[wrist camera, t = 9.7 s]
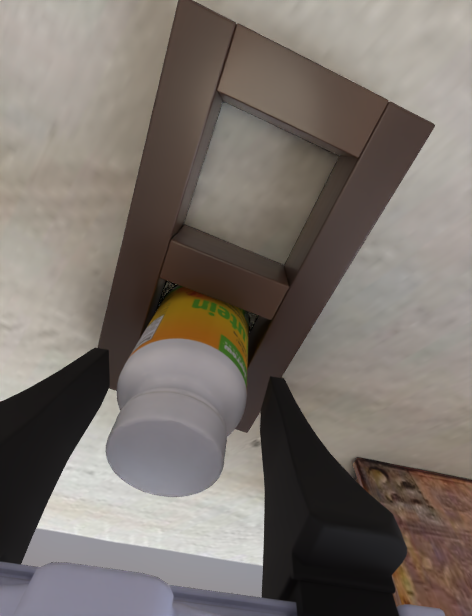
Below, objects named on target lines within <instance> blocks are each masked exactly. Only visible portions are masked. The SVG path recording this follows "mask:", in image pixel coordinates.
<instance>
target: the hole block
mask: <svg viewBox="0 0 472 616" xmlns="http://www.w3.org/2000/svg"><path fill="white" fill-rule="evenodd" d="M223 101H224V102H226V103H228V104H231V105H233V106H235V107H237V108H239V109H241V110H243V111H245V112H248V113H250V114H252V115H254V116H256V117H258V118H260V119H262V120H264V121H267V122H269V123H271V124H273V125H275V126H277V127H279V128H281V129H284V130H286V131H288V132H290V133H292V134H294V135H296V136H298V137H301V138H303V139H305V140H307V141H309V142H311V143H313V144H315V145H317V146H320V147H322V148H324V149H326V150H328V151H330V152H332V153H334V154H337V155H339V158H338V160H337V162H336V164H335V166H334V168H333V170H332V172H331V174H330V176H329V178H328V180H327V182H326V184H325V186H324V188H323V190H322V192H321V194H320V196H319V198H318V200H317V202H316V204H315V206H314V208H313V210H312V212H311V214H310V216H309V218H308V220H307V222H306V224H305V226H304V228H303V230H302V232H301V234H300V236H299V238H298V240H297V242H296V243H295V245H294V247H293V249H292V251H291V253H290V255H289V257H288V259H287V261H286V263H285V265H282V264H280V263H277V262H275V261H272V260H270V259H268V258H265V257H263V256H260V255H258V254H255V253H253V252H250V251H248V250H245V249H243V248H241V247H238V246H236V245H233V244H231V243H228V242H226V241H223V240H221V239H219V238H216V237H214V236H211V235H209V234H206V233H204V232H201V231H199V230H196V229H194V228H192V227H189V226H187V225H184V221H185V218H186V215H187V212H188V209H189V206H190V203H191V200H192V196H193V193H194V190H195V187H196V184H197V181H198V178H199V174H200V171H201V168H202V165H203V162H204V159H205V156H206V153H207V149H208V146H209V143H210V140H211V137H212V134H213V131H214V128H215V124H216V121H217V118H218V115H219V112H220V109H221V106H222V103H223ZM434 127H435V125H434V124H433V123H431V122H429V121H428V120H426V119H424V118H422V117H420V116H418V115H416V114H414V113H412V112H410V111H408V110H406V109H404V108H402V107H400V106H398V105H396V104H394V103H392V102H388V100H387V99H385V98H383V97H381V96H379V95H377V94H376V93H374V92H372V91H370V90H368V89H366V88H364V87H362V86H360V85H358V84H356V83H354V82H352V81H350V80H348V79H346V78H344V77H342V76H340V75H338V74H336V73H334V72H332V71H331V70H329V69H327V68H325V67H323V66H321V65H319V64H317V63H315V62H313V61H311V60H309V59H307V58H305V57H303V56H301V55H299V54H297V53H295V52H293V51H291V50H289V49H287V48H286V47H284V46H282V45H280V44H278V43H276V42H274V41H272V40H270V39H268V38H266V37H264V36H262V35H260V34H258V33H256V32H254V31H252V30H250V29H248V28H246V27H244V26H243V25H241V24H237V25H236V23H235V22H234V21H232V20H230V19H228V18H226V17H224V16H222V15H220V14H218V13H216V12H214V11H212V10H210V9H208V8H206V7H205V6H203V5H201V4H199V3H197V2H195V1H193V0H178V4H177V8H176V12H175V17H174V21H173V25H172V30H171V34H170V38H169V42H168V47H167V51H166V55H165V60H164V64H163V68H162V73H161V77H160V81H159V86H158V90H157V94H156V98H155V103H154V107H153V111H152V116H151V120H150V124H149V129H148V133H147V137H146V142H145V146H144V150H143V154H142V159H141V163H140V167H139V172H138V176H137V180H136V185H135V189H134V193H133V198H132V202H131V206H130V210H129V215H128V219H127V223H126V228H125V232H124V236H123V241H122V245H121V249H120V254H119V258H118V262H117V266H116V271H115V275H114V279H113V284H112V288H111V292H110V297H109V301H108V305H107V310H106V314H105V318H104V322H103V327H102V331H101V335H100V340H99V344H98V348H100V349H106V350H109V372H110V386H109V388H110V389H113V390H116V391H117V383H118V379H119V376H120V374H121V371H122V369H123V368H124V365H125V363H126V362H127V360H128V358H129V356H130V355H131V353H132V352H133V350H134V348H135V347H136V345H137V343H138V341H139V340H140V338H141V336H142V335H143V333H144V331H145V330H146V328H147V326H148V324H149V323H150V321H151V319H152V318H153V316H154V314H155V312H156V309H157V306H158V303H159V300H160V297H161V293H162V290H163V287H164V284H165V281H166V280H167V281H169V282H172V283H175V284H177V285H180V286H183V287H185V288H188V289H190V290H193V291H196V292H198V293H201V294H204V295H206V296H209V297H212V298H214V299H217V300H219V301H222V302H225V303H227V304H230V305H233V306H235V307H238V308H240V309H243V310H246V311H248V312H251V313H254V314H256V315H259V317H258V319H257V321H256V323H255V325H254V327H253V329H252V331H251V333H250V334H249V336H248V363H247V397H246V406H245V410H244V413H243V416H242V419H241V420H240V422H239V424H238V425H237V427H236V428H235V429H237V430H240V431H243V432H246V433H247V432H248V431H249V429H250V428H251V426H252V424H253V423H254V421H255V419H256V418H257V416H258V415H259V413H260V411H261V407H262V404H263V400H264V396H265V393H266V389H267V386H268V382H269V379H270V376H272V377H278V378H281V377H282V375H283V374H284V372H285V370H286V369H287V367H288V366H289V364H290V362H291V361H292V359H293V357H294V356H295V354H296V352H297V351H298V349H299V348H300V346H301V344H302V343H303V341H304V339H305V338H306V336H307V334H308V333H309V331H310V330H311V328H312V326H313V325H314V323H315V321H316V320H317V318H318V316H319V315H320V313H321V312H322V310H323V308H324V307H325V305H326V303H327V302H328V300H329V299H330V297H331V295H332V294H333V292H334V290H335V289H336V287H337V285H338V284H339V282H340V281H341V279H342V277H343V276H344V274H345V272H346V271H347V269H348V267H349V266H350V264H351V263H352V261H353V259H354V258H355V256H356V254H357V253H358V251H359V249H360V248H361V246H362V245H363V243H364V241H365V240H366V238H367V236H368V235H369V233H370V232H371V230H372V228H373V227H374V225H375V223H376V222H377V220H378V218H379V217H380V215H381V214H382V212H383V210H384V209H385V207H386V205H387V204H388V202H389V200H390V199H391V197H392V196H393V194H394V192H395V191H396V189H397V187H398V186H399V184H400V183H401V181H402V179H403V178H404V176H405V174H406V173H407V171H408V169H409V168H410V166H411V165H412V163H413V161H414V160H415V158H416V156H417V155H418V153H419V151H420V150H421V148H422V147H423V145H424V143H425V142H426V140H427V138H428V137H429V135H430V133H431V132H432V130H433V129H434Z"/></svg>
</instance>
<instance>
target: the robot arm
mask: <svg viewBox="0 0 472 616" xmlns="http://www.w3.org/2000/svg"><path fill="white" fill-rule="evenodd" d="M109 386H110V372H109V350H106V349H100V348H94V349H92V350H90V351H89V352H87V353H86V354H84V355H83V356H81V357H80V358H78V359H77V360H75V361H74V362H72V363H71V364H69V365H67V366H66V367H64V368H63V369H61V370H59V371H58V372H56V373H55V374H53V375H51V376H49V377H48V378H46V379H44V380H43V381H41V382H39V383H37V384H36V385H34V386H32V387H30V388H28V389H26V390H24V391H22V392H20V393H18V394H16V395H14V396H12V397H10V398H8V399H6V400H4V401H1V402H0V616H445V613H444V611H442V610H441V609H438V608H431V607H424V606H417V605H408V604H404V605H399V606H397V607H396V604H395V601H394V597H393V594H394V593H395V585H394V582H393V579H392V575H393V573H394V572H395V571H396V570H397V569H398V567H399V566H400V565H401V564H402V563H403V561H404V559H405V557H406V555H407V546H406V544H405V541H404V538H403V536H402V533H401V531H400V528H399V526H398V524H397V522H396V520H395V518H394V515H393V513H391V512H390V511H389V510H388V509H387V508H386V507H384V506H383V505H382V504H381V503H380V502H379V501H377V500H376V499H375V498H374V497H373V496H371V495H370V494H369V493H368V492H367V491H366V490H365V489H364V488H363V487H362V486H361V485H360V484H359V483H357V482H356V481H355V480H354V479H353V478H352V477H351V476H350V475H349V474H348V472H347V471H346V470H345V469H344V468H343V467H342V466H341V465H340V464H339V463H338V462H337V461H336V459H335V458H334V457H333V456H332V455H331V454H330V452H329V451H328V450H327V449H326V447H325V446H324V445H323V443H322V442H321V441H320V439H319V438H318V437H317V435H316V434H315V432H314V431H313V429H312V428H311V426H310V425H309V423H308V422H307V420H306V418H305V417H304V415H303V413H302V412H301V410H300V408H299V406H298V405H297V403H296V401H295V399H294V397H293V395H292V393H291V391H290V389H289V387H288V385H287V383H286V381H285V380H284V378H278V377H272V376H270V379H269V382H268V386H267V389H266V393H265V396H264V400H263V404H262V407H261V419H260V435H261V448H262V460H263V471H264V486H265V514H264V554H263V580H262V598H260V597H253V596H246V595H238V594H231V593H223V592H216V591H210V590H202V589H195V588H188V587H180V586H173V585H168V583H166V582H164V581H163V580H161V579H160V578H158V577H155V576H152V575H148V574H144V573H139V572H132V571H124V570H117V569H110V568H103V567H95V566H88V565H81V564H73V563H67V562H66V563H65V562H64V563H62V562H61V563H59V562H58V563H57V562H54V563H53V562H51V563H49V564H46V565H44V566H42V567H35V566H28V565H21V563H22V560H23V558H24V556H25V553H26V551H27V548H28V546H29V543H30V541H31V539H32V536H33V534H34V532H35V529H36V527H37V525H38V523H39V520H40V518H41V516H42V514H43V511H44V509H45V507H46V505H47V503H48V500H49V498H50V496H51V494H52V492H53V490H54V487H55V485H56V483H57V481H58V479H59V477H60V475H61V473H62V471H63V469H64V467H65V465H66V463H67V461H68V459H69V457H70V456H71V454H72V452H73V450H74V449H75V447H76V445H77V444H78V442H79V441H80V439H81V437H82V436H83V434H84V433H85V431H86V429H87V428H88V426H89V424H90V423H91V421H92V420H93V418H94V416H95V415H96V413H97V411H98V410H99V408H100V406H101V404H102V402H103V400H104V398H105V396H106V393H107V391H108V389H109ZM392 593H393V594H392Z"/></svg>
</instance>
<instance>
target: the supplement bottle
mask: <svg viewBox="0 0 472 616" xmlns="http://www.w3.org/2000/svg"><path fill="white" fill-rule="evenodd" d="M248 334H249V319H248V313H247V311H246V310H243V309H240V308H238V307H235V306H233V305H230V304H227V303H225V302H222V301H219V300H217V299H214V298H212V297H209V296H206V295H204V294H201V293H198V292H196V291H193V290H190V289H188V288H185V287H183V286H180V285H177V286H176V287H174V288H173V289H172V290H171V291H170V292H169V293H168V294H167V295H166V296H165V298H164V299H163V301H162V302H161V304H160V306H159V307H158V309H157V311H156V312H155V314H154V316H153V318H152V319H151V321H150V323H149V324H148V326H147V328H146V330H145V331H144V333H143V335H142V336H141V338H140V340H139V341H138V343H137V345H136V347H135V348H134V350H133V352H132V353H131V355H130V356H129V358H128V360H127V362H126V363H125V365H124V368H123V369H122V371H121V374H120V376H119V379H118V383H117V401H118V405H119V408H120V413H119V415H118V417H117V419H116V422H115V424H114V426H113V428H112V430H111V433H110V435H109V437H108V440H107V444H106V456H107V460H108V463H109V464H110V466H111V468H112V470H113V471H114V472H115V473H116V474H117V475H118V476H119V477H120V478H121V479H122V480H123V481H125V482H126V483H128V484H129V485H131V486H133V487H135V488H137V489H139V490H141V491H143V492H147V493H150V494H154V495H159V496H167V497H182V496H188V495H192V494H196V493H199V492H201V491H203V490H205V489H207V488H209V487H210V486H212V485H213V484H214V483H215V482H216V481H217V479H218V478H219V476H220V474H221V472H222V469H223V466H224V457H225V450H226V442H227V436H229V435H230V434H231V433H232V432H233V431H234V430H235V428H236V427H237V425H238V424H239V422H240V420H241V419H242V416H243V413H244V410H245V406H246V397H247V363H248Z"/></svg>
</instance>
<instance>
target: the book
mask: <svg viewBox="0 0 472 616" xmlns="http://www.w3.org/2000/svg"><path fill="white" fill-rule="evenodd" d="M353 467H354V470H355V473H356V476H357V479H356V482H357V483H359V484H360V485H361V486H362V487H363V488H364V489H365V490H366V491H367V492H368V493H369V494H370V495H371V496H373V497H374V498H375V499H376V500H377V501H379V502H380V503H381V504H382V505H383V506H384V507H386V508H387V509H388V510H389V511H390V512H391V513H393V515H394V518H395V520H396V522H397V524H398V526H399V528H400V531H401V533H402V536H403V538H404V541H405V544H406V546H407V555H406V557H405V559H404V561H403V563H402V564H401V565H400V566H399V567H398V569H397V570H396V571H395V572H394V573H393V575H392V579H393V582H394V585H395V593H394V594H393V593H392V594H393V597H394V601H395V604H396V607H397V606H399V605H404V604H408V605H417V606H424V607H431V608H438V609H441V610H442V611H444V613H445V616H472V480H469V479H464V478H459V477H454V476H449V475H444V474H439V473H434V472H429V471H424V470H419V469H414V468H409V467H404V466H399V465H394V464H389V463H384V462H379V461H374V460H369V459H364V458H359V457H357V458H356V460H355V462H354V463H353Z"/></svg>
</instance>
